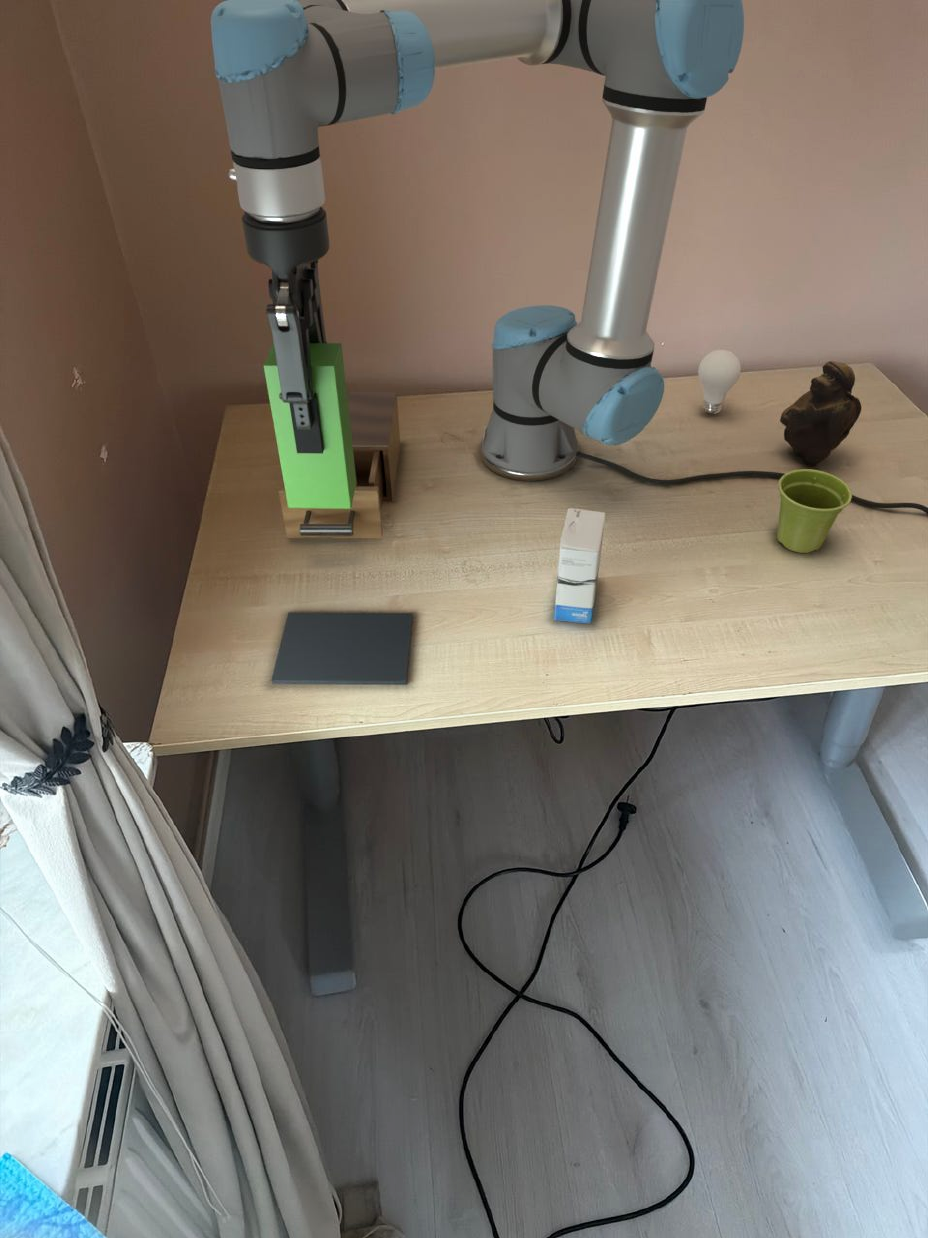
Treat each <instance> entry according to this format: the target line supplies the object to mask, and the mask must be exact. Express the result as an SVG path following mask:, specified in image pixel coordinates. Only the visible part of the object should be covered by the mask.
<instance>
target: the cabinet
mask: <svg viewBox="0 0 928 1238" xmlns="http://www.w3.org/2000/svg"><path fill="white" fill-rule="evenodd" d="M347 400H348V409H349V418H350V427H351V437H352V446H353V451H383V459H384V470H385V486H384V493H383V499H382V503H383V502H384V503H385V502H388V503H389V502H394V495H395V494H394V493H395V486H396V481H397V473H398V465H399V458H400V451H401V435H400V420H399V407H398V393H397V391H347Z"/></svg>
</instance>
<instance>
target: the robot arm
mask: <svg viewBox="0 0 928 1238" xmlns="http://www.w3.org/2000/svg"><path fill="white" fill-rule="evenodd" d="M744 12H745V11H744V5H743V0H224V1H222V2H220V3H218V4H217V5H216V6H215V7H214V9H213V10H212V12H211V15H210V30H211V41H212V42H211V43H212V51H213V60H214V74H215V76H216V79H217V82H218V87H219V92H220V93H219V94H220V98H221V102H222V108H223V113H224V119H225V125H226V132H227V137H228V143H229V148H230V154H231V159H232V160H231V161H232V164H233V165H232V166H233V168H230V169H229V171H228V177H229V179H230V180H231V181H234V182H236V186H237V188H236V189H237V195H238V201H239V206H240V208H241V209H242V210H243V211H244V213H243V214H242V216H241V223H242V228H243V233H244V240H245V246H246V251H247V255H248V257H250V258H251V260H253V261H255V262H256V263H259V264H263V265H265V266H267V267H268V268H269V269H271V271H272V272H271V278H268V283H267V284H268V294H269V298H270V299H271V301H272V303H269V304H267V306H266V309H265V311H266V315H267V319H268V323H269V326H270V330H271V334H272V335H271V336H272V341H273V343H274V349H275V355H276V361H277V368H278V374H279V381H280V387H281V393H280V394H279V398H280V399H282V400H283V402H284V403H289V405H290V411H291V418H292V424H293V431H294V437H295V443H296V450H297V453H317V454H323V451H324V447H323V439H322V432H321V424H320V417H319V409H318V402H317V394H316V393H314V391H313V383H312V370H311V358H310V345H309V343H328V341H327V337H326V328H325V320H324V314H323V305H322V304H323V303H322V297H321V288H320V287H321V286H320V280H319V260H321V259H322V258H323V257H325V256H326V255H327V253H328V252H329V250H330V245H331V244H330V237H329V235H330V234H329V227H328V219H327V218H328V216H327V211H326V210H325V209H324V207H323V205H324V204H325V202H326V192H325V185H324V175H323V168H322V167H323V166H322V159H321V152H320V145H319V143H320V142H319V141H320V140H319V128H322V127H327V126H332V125H336V124H342V123H347V122H353V121H357V120H361V119H362V120H363V119H368V118H373V117H379V116H383V115H389V114H390V115H396V114H397V113H399V112H401V111H405V110H408V109H411V108H414V107H417V106H420V105H421V104H422V103H424V102H425V101H426V100H427V98H428V97H429V95H430V93H431V91H432V89H433V86H434V82H435V76H436V71H437V70H438V71H439V70H444V69H451V68H457V67H463V66H470V65H476V64H484V63H491V62H496V61H502V60H503V61H504V60H511V59H517V60H518V61H520V62H521V63H522V64H524V65H526V66H539V65H540V66H541V65H548V64H550V65H559V66H563V67H564V66H565V67H570V68H574V69H580V70H583V71H587V72H592V73H594V74H598V75H600V76H604V84H603V90H602V99H601V101H602V103H603V105H604V106H605V108H606V109H607V111H608V113H609V114H610V116H611V119H612V121H611V125H610V126H611V127H610V133H609V139H608V146H607V153H606V159H605V165H604V170H603V171H604V172H603V177H602V185H601V191H600V196H599V197H600V198H599V203H598V209H597V216H596V222H595V228H594V229H595V230H594V236H593V241H592V242H593V243H592V249H591V256H590V260H589V261H590V262H589V267H588V272H587V273H588V274H587V280H586V287H585V294H584V300H583V307H582V313H581V319H580V322H579V323H578V322H577V321H576V314H575V313H574V312H573V311H572V310H570V309H568V308H566V307H563V306H560V305H559V306H558V305H549V304H548V305H547V304H546V305H543V304H542V305H529V306H524V307H519V308H516V309H513V310H510V311H508V312H506V313H504V314H503V315H502V316H500V317H499V318H498V320H497V321H496V323H495V325H494V330H493V342H492V344H491V348H492V411H491V414H490V417H489V420H488V423H487V424H485V425H484V428H483V436H482V439H481V443H480V444H481V445H480V456H481V461H482V462H483V464H484V465H485V466H486V468H488V469H489V470H490V471H492V472H494V473H495V474H497V475H499V476H502V477H504V478H508V479H511V480H517V481H525V482H535V481H545V480H550V479H554V478H556V477H559V476H562V475H564V474H566V473H567V472H569V471H570V470H571V469H572V468H573V467H574V466H575V465H576V463H577V460H578V458H582V459H584V460H588V461H590V462H591V461H592V462H594V463H598V464H600V465H602V466H603V465H604V466H607V467H609V468H611V469H614V470H617V471H618V472H621V473H623V474H625V475H627V476H629V477H631V478H632V479H633V478H634V479H636V480H638V481H641V482H644V483H649V484H653V485H660V486H661V485H663V486H664V485H665V486H668V485H671V486H672V485H680V484H686V483H692V482H697V481H703V480H704V481H705V480H712V479H725V478H733V477H734V478H735V477H750V476H751V477H771V478H779V479H780V478H781V477H782V476H783V475H784V474H785V473H784V472H776V471H764V470H762V471H761V470H739V471H728V472H719V473H708V474H698V475H693V476H687V477H683V478H675V479H658V478H653V477H652V478H651V477H647V476H645V475H644V476H643V475H641V474H638V473H636V472H634V471H632V470H629V469H628V468H626V467H624V466H622V465H619V464H618V463H615V462H613V461H609V460H606V459H603V458H601V457H598V456H594V455H591V454H588V453H584V452H581V451H579V442H578V437H577V435H576V431H578V432H580V433H582V434H583V435H584V436H585V438H588V439H592V440H595V441H597V442H599V443H602V444H604V445H607V446H619V445H622V444H625V443H627V442H629V441H630V440H632V439H633V438H635V437H637V436H638V435H639V434H640V433H641V432H642V431H643V430H644V429H645V427H646V426H647V425H648V424H649V423H650V422H651V420H652V419H653V418H654V416H655V415H656V413H657V411H658V410H659V408H660V405H661V403H662V400H663V397H664V393H665V380H664V377H663V375H662V374H661V372H660V371H659V370H658V369H656V367H654V366H652V362H653V356H654V351H655V341H654V340H653V339H652V337H651V336H650V334H649V332H647V328H648V323H649V318H650V313H651V308H652V304H653V298H654V295H655V289H656V284H657V278H658V274H659V269H660V264H661V259H662V254H663V249H664V244H665V239H666V234H667V228H668V224H669V219H670V215H671V208H672V205H673V200H674V195H675V190H676V184H677V180H678V175H679V171H680V166H681V160H682V154H683V151H684V146H685V142H686V136H687V131H688V128H689V127H690V125H691V123H694V121H696V120H697V119H698V118H699V117H700V116H702V115H703V114H704V113H705V110H706V107H707V100H708V98H709V97H713V96H714V95H716V94H717V93H719V92H720V91H721V90H722V89H723V88H724V87H725V86H726V84H727V83H728V81H729V80H730V79H729V78H730V77H729V74H732V73H733V72H734V71H735V69H736V66H737V64H738V61H739V59H740V54H741V51H742V46H743V41H744V32H745V13H744ZM575 430H576V431H575ZM851 501H853V502H855V503H858V504H860V505H863V506H868V507H870V508H871V507H872V508H877V509H878V508H879V509H917V510H918V511H919V510H920V511H921V512H924V513H925V514H926V515H928V506H925V505H923V504H920V503H915V502H890V503H889V502H888V503H887V502H877V501H871V500H868V499H865V498H861V497H858V496H856V495H854V494H852V499H851Z"/></svg>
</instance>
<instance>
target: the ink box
mask: <svg viewBox="0 0 928 1238" xmlns="http://www.w3.org/2000/svg"><path fill="white" fill-rule="evenodd" d="M605 521H606V512H604V511H596V510H589V509H583V508H582V509H581V508H574V507H569V508H568V509H567V511H566V514H565V518H564V524H563V527H562V532H561V535H560V539H559V552H558V553H559V554H558V564H557V577H556V578H557V579H556V589H555V601H554V603H555V604H554V614H553V620H555V621H561V622H569V623H577V624H589V625H590V624H592V619H593V612H594V604H595V600H596V594H597V593H596V592H597V587H598V580H599V574H600V566H601V557H602V549H603V539H604V532H605V531H604V530H605Z"/></svg>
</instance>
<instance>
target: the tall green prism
mask: <svg viewBox="0 0 928 1238" xmlns="http://www.w3.org/2000/svg"><path fill="white" fill-rule="evenodd" d="M309 345H310V358H311V370H312V383H313V391H314V393H316V394H317V402H318V409H319V417H320V424H321V432H322V439H323V447H324V451H323V454H317V453H297V450H296V443H295V437H294V431H293V424H292V418H291V411H290V405H289V403H284V402H283V400H282V399H280V398H279V394H280V393H281V387H280V381H279V374H278V368H277V361H276V355H275V349H274V342H273V343H272V345H271V347H270V350H269V352H268V354H267V356H266V359H265V361H264V363H263V371H264V377H265V383H266V388H267V395H268V399H269V405H270V410H271V411H270V412H271V416H272V422H273V423H272V424H273V429H274V435H275V440H276V446H277V452H278V457H279V463H280V467H281V468H280V469H281V475H282V480H283V486H285V492H286V498H287V503H288V508H335V509H351V506H352V502H353V497H354V493H355V488H356V484H357V482H356V473H355V464H354V455H353V446H352V437H351V427H350V418H349V409H348V400H347V392H348V391H347V384H346V382H347V381H346V373H345V364H344V355H343V345H342V343H340V342H327V343H309Z"/></svg>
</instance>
